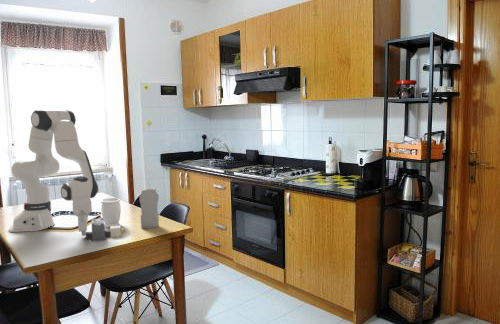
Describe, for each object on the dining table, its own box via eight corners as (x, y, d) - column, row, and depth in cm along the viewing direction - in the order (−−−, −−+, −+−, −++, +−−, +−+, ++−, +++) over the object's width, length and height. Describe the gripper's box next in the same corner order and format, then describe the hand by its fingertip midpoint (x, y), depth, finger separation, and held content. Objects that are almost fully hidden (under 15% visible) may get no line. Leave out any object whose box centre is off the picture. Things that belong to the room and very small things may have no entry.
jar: (101, 224, 226) (100, 198, 224) (120, 222, 230) (119, 197, 228) (102, 228, 216) (101, 202, 215) (122, 226, 220) (121, 200, 219)
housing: (92, 241, 195) (91, 224, 194) (92, 234, 207) (91, 218, 206) (105, 239, 197) (104, 223, 196) (104, 232, 209) (104, 217, 208)
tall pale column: (141, 229, 215) (139, 190, 213) (139, 227, 219) (138, 189, 216) (160, 227, 220) (159, 188, 217) (158, 225, 223) (157, 187, 221)
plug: (85, 239, 198) (85, 231, 198) (86, 237, 202) (85, 228, 202) (124, 235, 205) (124, 227, 204) (124, 233, 209) (124, 225, 208)
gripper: (88, 213, 189) (89, 240, 191) (89, 204, 208) (90, 229, 210) (74, 214, 187) (75, 242, 189) (76, 205, 206) (78, 230, 208)
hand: (83, 235), depth 200 cm, fingers closed
